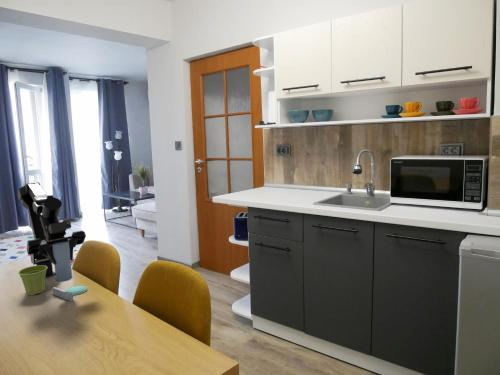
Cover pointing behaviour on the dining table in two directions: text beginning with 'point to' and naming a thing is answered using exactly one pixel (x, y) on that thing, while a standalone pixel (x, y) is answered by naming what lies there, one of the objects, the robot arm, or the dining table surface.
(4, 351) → the dining table surface
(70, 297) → the acrylic wall
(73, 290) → the coaster
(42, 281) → the plant pot
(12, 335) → the dining table surface
